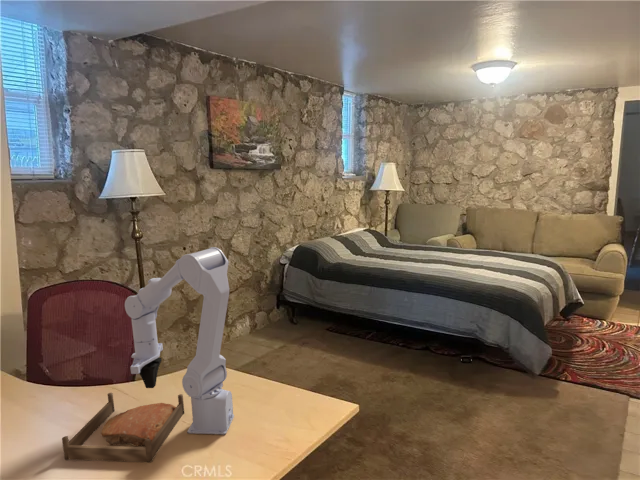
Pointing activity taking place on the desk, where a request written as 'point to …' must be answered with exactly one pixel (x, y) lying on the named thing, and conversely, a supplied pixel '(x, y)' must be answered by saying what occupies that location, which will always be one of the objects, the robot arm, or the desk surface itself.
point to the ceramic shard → (137, 424)
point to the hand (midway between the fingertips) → (150, 386)
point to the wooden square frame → (114, 453)
